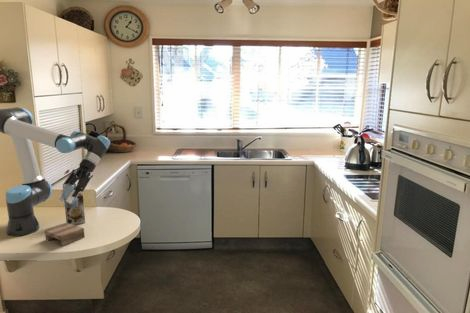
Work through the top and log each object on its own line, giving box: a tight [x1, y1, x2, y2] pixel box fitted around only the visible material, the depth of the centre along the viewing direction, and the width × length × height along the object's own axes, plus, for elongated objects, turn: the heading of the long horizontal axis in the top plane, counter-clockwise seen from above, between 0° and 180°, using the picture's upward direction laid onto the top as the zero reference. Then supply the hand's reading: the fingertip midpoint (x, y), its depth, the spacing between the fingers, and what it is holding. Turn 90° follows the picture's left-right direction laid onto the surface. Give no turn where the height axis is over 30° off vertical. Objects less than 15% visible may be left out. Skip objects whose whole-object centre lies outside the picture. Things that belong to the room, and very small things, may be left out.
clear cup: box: [62, 182, 78, 209], centre depth 178 cm, size 6×6×11 cm
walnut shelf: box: [44, 222, 85, 247], centre depth 180 cm, size 14×12×5 cm
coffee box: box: [64, 192, 86, 226], centre depth 199 cm, size 9×6×16 cm
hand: (64, 201), depth 175 cm, fingers closed on clear cup, 6 cm apart
